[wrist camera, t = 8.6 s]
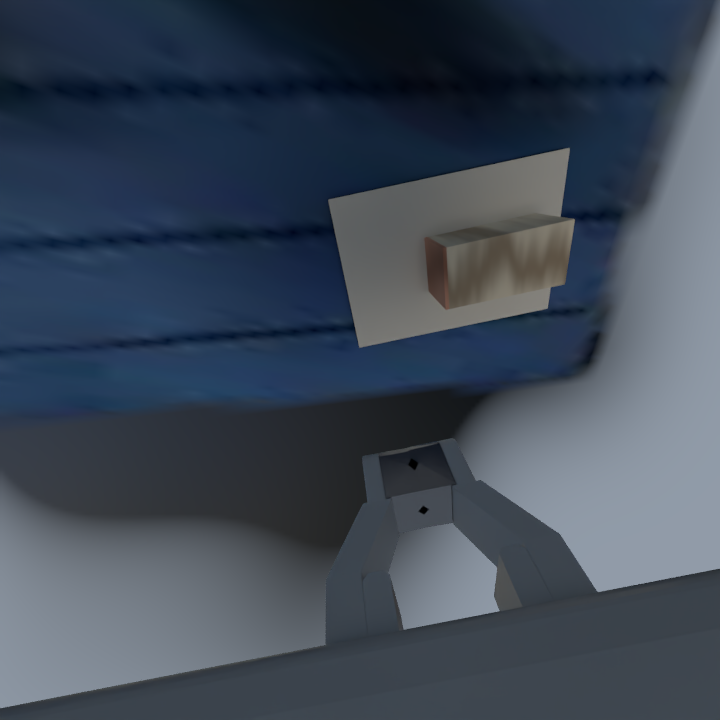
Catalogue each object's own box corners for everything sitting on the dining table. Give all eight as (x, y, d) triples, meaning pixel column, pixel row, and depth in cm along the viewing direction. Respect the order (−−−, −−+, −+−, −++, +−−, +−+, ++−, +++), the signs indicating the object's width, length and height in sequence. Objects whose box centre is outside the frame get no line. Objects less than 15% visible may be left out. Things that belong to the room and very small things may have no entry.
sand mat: (328, 199, 26) (328, 199, 25) (565, 148, 25) (569, 147, 25) (358, 345, 33) (359, 347, 32) (544, 306, 32) (547, 308, 32)
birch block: (442, 248, 23) (574, 219, 23) (424, 237, 27) (535, 213, 27) (445, 309, 26) (564, 284, 25) (428, 291, 30) (530, 269, 30)
